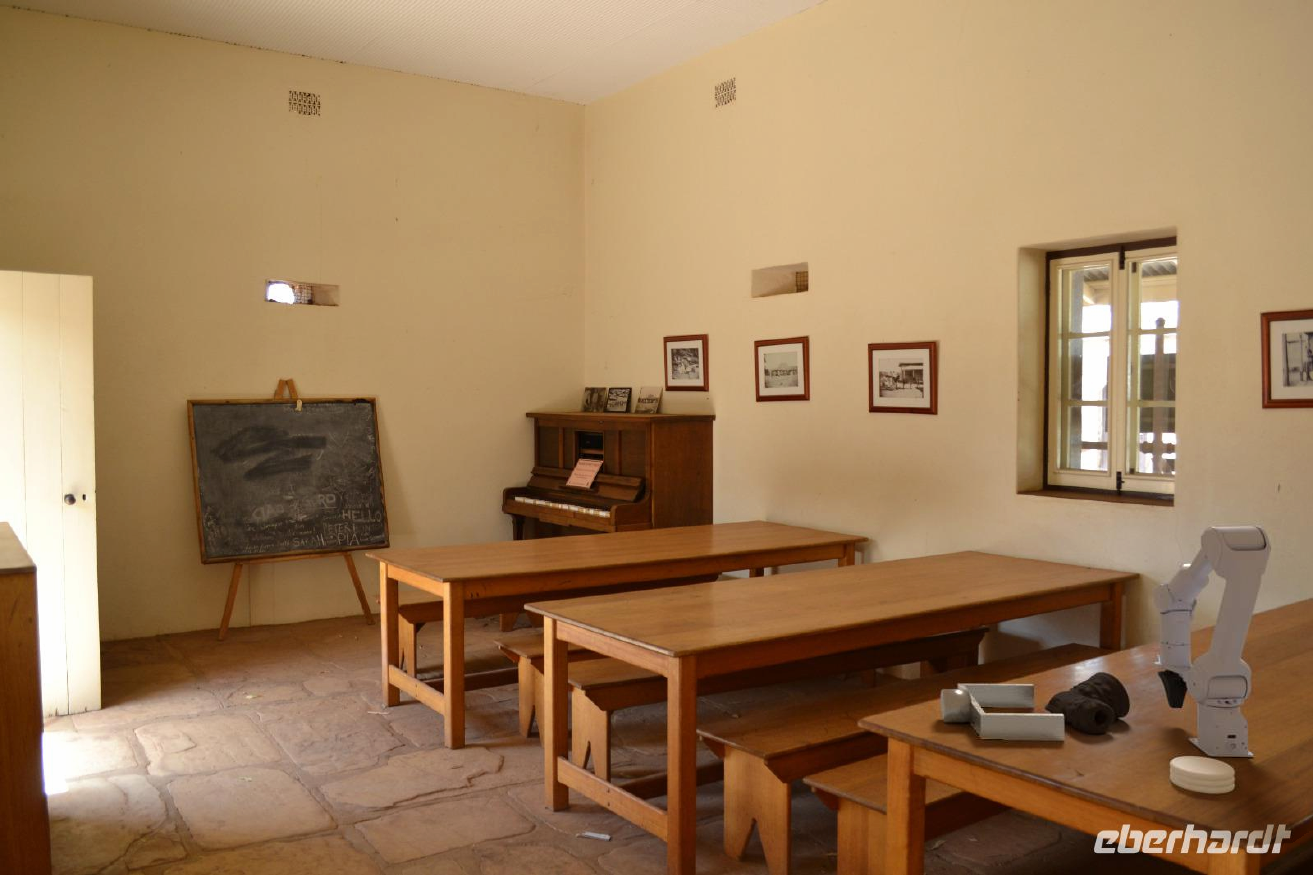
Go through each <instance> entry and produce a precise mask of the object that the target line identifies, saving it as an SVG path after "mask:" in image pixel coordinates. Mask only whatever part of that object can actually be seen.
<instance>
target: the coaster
mask: <svg viewBox="0 0 1313 875" xmlns="http://www.w3.org/2000/svg"><path fill="white" fill-rule="evenodd" d="M1169 767H1170V769H1169V773H1170V775H1169V779H1170V781H1171V782H1172V783H1173V784H1174V785H1175V786H1178V787H1179V788H1182V789H1185V790H1188V791H1192V792H1194V793H1195V792H1197V793H1203V794H1212V795H1215V794H1218V795H1219V794H1225V793H1230V792H1232V791H1233V790H1234V789H1235V786H1236V784H1235V780H1236V778H1235V773H1236V772H1235V769H1234V768H1233V766H1231V765H1230V764H1229V763H1226V762H1224V761H1222V760H1218V759H1215V758H1210V757H1205V756H1197V755H1196V756H1195V755H1194V756H1193V755H1190V756H1189V755H1188V756H1187V755H1186V756H1178V757H1175V758H1173V759H1171V760H1170V762H1169Z"/></svg>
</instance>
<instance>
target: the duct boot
mask: <svg viewBox="0 0 1313 875" xmlns="http://www.w3.org/2000/svg"><path fill="white" fill-rule="evenodd" d="M981 707H993V708H995V709H998V708H999V709H1034V708H1035V685H1034V684H1033V683H957V688H954V689H953V688H951V689H945V688H943V689H942V688H941V691H940V712H941V718H942V721H943V720H944V721H943V722H944V723H964V722H970V723H971V724H972V726H973V727H974V728H975V730H976V732H978V734H979V736H980V737H981V738H990V739H1003V740H1002V741H1054V742H1055V741H1057V742H1058V741H1060V742H1061V741H1062V742H1064V741H1065V720H1064V715H1063V714H1051V713H1011V712H1010V713H1008V712H1007V713H1004V712H1001V713H999V712H998V713H997V712H995V713H993V712H989V713H986V712H985V711H984V708H981ZM993 708H992V709H993ZM970 723H969V724H970ZM971 724H970V725H971ZM972 726H971V727H972ZM973 727H972V728H973ZM975 730H974V731H975ZM976 732H975V733H976ZM979 736H978V737H979Z"/></svg>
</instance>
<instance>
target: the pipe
mask: <svg viewBox="0 0 1313 875" xmlns="http://www.w3.org/2000/svg"><path fill="white" fill-rule="evenodd" d="M1130 708H1131V701H1130V696H1129V694H1128V691H1127V689H1126V688H1125V686H1124V685H1123V683H1122V682H1121V681H1120V680H1119V679H1118V678H1117V677H1115V676H1114V675H1112V674H1111V673H1108V672H1101V671H1099V672H1096V673H1094V674H1092V675H1091V676H1090V677H1089V678H1088V679H1087V680H1084V681H1081V682H1079V683H1077V685H1076V684H1075V685H1073V687H1071V688H1069V690H1065V691H1064V690H1063V691H1060V692H1057V693H1056V694H1054V695H1053V696H1052V697H1051V698H1050V699H1049V701H1048V703H1047V704H1046V705H1045V706H1044V710H1046V711H1047V712H1049V714H1063V715H1064V722H1067V723H1068V722H1070V723H1071V724H1072V727H1074V728H1076V729H1079V730H1080V731H1082V732H1083V733H1086V734H1093V735H1100V734H1105V733H1106V732H1107V731H1108V730H1109V729H1110V728H1111V727H1112V725H1113V723H1114V722H1115V719H1121V718H1125V717H1127V715H1128V714H1129V712H1130Z"/></svg>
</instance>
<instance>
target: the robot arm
mask: <svg viewBox="0 0 1313 875" xmlns="http://www.w3.org/2000/svg"><path fill="white" fill-rule="evenodd" d="M1200 547H1201V548H1200V549H1199V551H1198V552H1197V553H1196V556H1195V557H1194V558H1193V560H1192V562H1191V563H1185V564H1183V563H1182V564H1181V565H1180V566H1179V568H1178V570H1177V571H1176V572H1175V573H1174V575H1173V576H1172V577H1171V579H1170V580H1169V581H1168V582H1167V583H1159V584H1157V585H1156V587H1155V588H1154V590H1153V603H1154V606H1155V609H1156V610H1157V611H1158V612H1159V654H1156V661H1154V663H1153V666H1155V668H1159V669H1160V668H1161V669H1163V670H1161V671H1157V675H1158V676H1159V678H1160V680H1161V682H1162V685H1163V687H1164V691H1165V695H1166V699H1167V704H1168V706H1169V707H1170V708H1172V709H1182V708H1183V706H1184V702H1185V698H1186V694H1187V692H1188V693H1189V695H1190V696H1191V697H1192V699H1193V700H1195V701H1196V706H1197V707H1196V708H1197V710H1196V711H1197V712H1196V714H1197V715H1196V716H1197V717H1196V718H1197V719H1196V724H1197V725H1196V726H1197V731H1196V733H1197V735H1196V736H1197V737H1193V738H1192V737H1190V738H1188V741H1189V742H1190V743H1192V744H1193V745H1194V746H1195V747H1196V748H1198V749H1200V750H1201V751H1202V752H1203V753H1205V754H1206V755H1207V756H1208V757H1209V756H1210V757H1228V758H1229V757H1233V758H1234V757H1237V758H1238V757H1241V758H1243V757H1244V758H1245V757H1246V758H1247V757H1248V758H1251V757H1252V758H1253V757H1254V753H1252V752H1251V751H1249V723H1248V721H1247V719H1246V717H1245V716H1244V715H1243V714H1242V712H1241V705H1244V704H1245V703H1244V702H1245V701H1244V700H1247V699H1248V697H1250V693H1251V691H1252V683H1251V676H1252V669H1251V668H1250V666H1249V665H1248V663H1247V662H1246V661H1245V660H1243V659H1242V654H1243V650H1244V647H1245V643H1246V639H1247V636H1248V632H1249V629H1250V625H1251V622H1252V621H1251V620H1252V619H1253V618H1252V617H1253V613H1254V610H1255V606H1256V603H1257V598H1258V595H1259V591H1260V587H1261V584H1262V583H1261V582H1262V577H1263V575H1264V574H1265V573H1266V569H1267V565H1268V561H1269V559H1270V558H1269V557H1270V554H1271V551H1272V546H1271V542H1270V540H1269V536H1268V534H1267V532H1266V531H1265V529H1264V528H1263V527H1262V526H1260V525H1256V524H1255V525H1249V526H1248V525H1247V526H1246V525H1245V526H1218V527H1217V526H1207V527H1206V528H1205V530H1204V531H1203V533H1202V534H1201V535H1200ZM1213 571H1214V572H1215V575H1216V576H1218V577H1220V578H1222V579H1225V586H1224V590H1223V593H1222V594H1223V595H1222V597H1221V601H1220V605H1219V610H1218V613H1217V617H1216V621H1215V625H1214V629H1213V632H1212V637H1211V642H1210V646H1209V649H1208V651H1206V652H1205V653H1203V654H1201V655H1200V656H1198V657H1197V658H1195V659H1194V661H1193V664H1192V663H1191V662H1192V654H1191V652H1192V650H1191V647H1192V644H1191V643H1192V642H1191V640H1192V638H1191V636H1192V633H1191V629H1192V628H1191V624H1192V623H1191V622H1193V621H1194V613H1195V611H1196V608H1197V605H1198V600H1197V597H1198V596H1200V594H1201V593H1202V592H1203V591H1204V589H1205V588H1207V586H1208V585H1209V582H1210V578H1209V575H1211V573H1212V572H1213ZM1164 669H1165V670H1164Z"/></svg>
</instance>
